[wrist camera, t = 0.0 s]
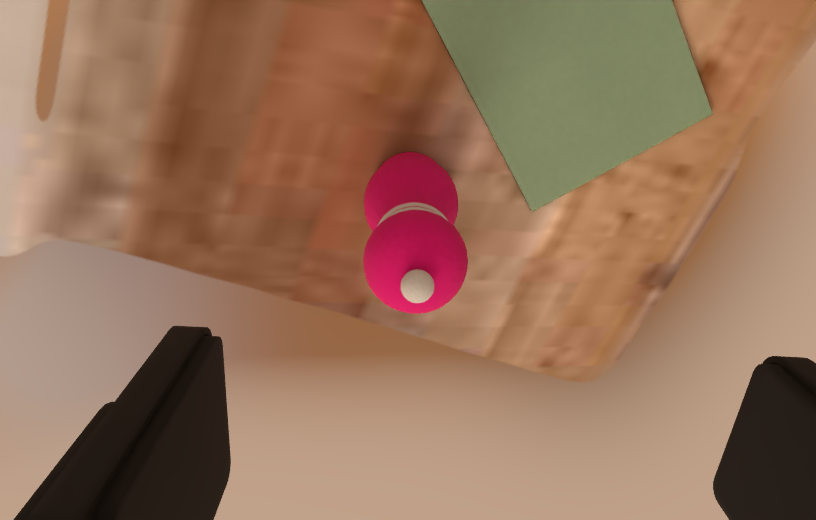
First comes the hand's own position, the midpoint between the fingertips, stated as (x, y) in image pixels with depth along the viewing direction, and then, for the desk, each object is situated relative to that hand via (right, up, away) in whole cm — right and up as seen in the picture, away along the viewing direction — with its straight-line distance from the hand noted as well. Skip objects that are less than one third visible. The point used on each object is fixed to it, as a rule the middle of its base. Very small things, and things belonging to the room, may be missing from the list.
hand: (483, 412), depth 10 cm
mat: (+11, +19, +33) cm, 39 cm away
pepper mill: (-1, +9, +37) cm, 38 cm away
